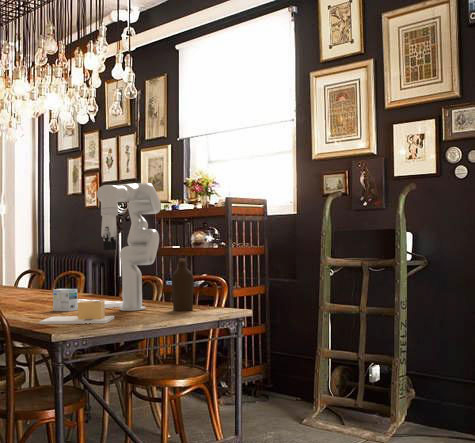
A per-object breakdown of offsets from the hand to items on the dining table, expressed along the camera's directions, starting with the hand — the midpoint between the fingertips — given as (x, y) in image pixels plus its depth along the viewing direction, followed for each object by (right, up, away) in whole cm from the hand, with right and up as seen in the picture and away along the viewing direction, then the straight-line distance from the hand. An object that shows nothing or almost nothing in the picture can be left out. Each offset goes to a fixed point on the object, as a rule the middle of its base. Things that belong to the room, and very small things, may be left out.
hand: (110, 249), depth 291 cm
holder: (-22, -33, +55) cm, 68 cm away
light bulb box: (-28, -32, +29) cm, 52 cm away
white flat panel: (-11, -30, -14) cm, 35 cm away
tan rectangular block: (-5, -29, -14) cm, 33 cm away
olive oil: (+32, -31, +21) cm, 49 cm away
